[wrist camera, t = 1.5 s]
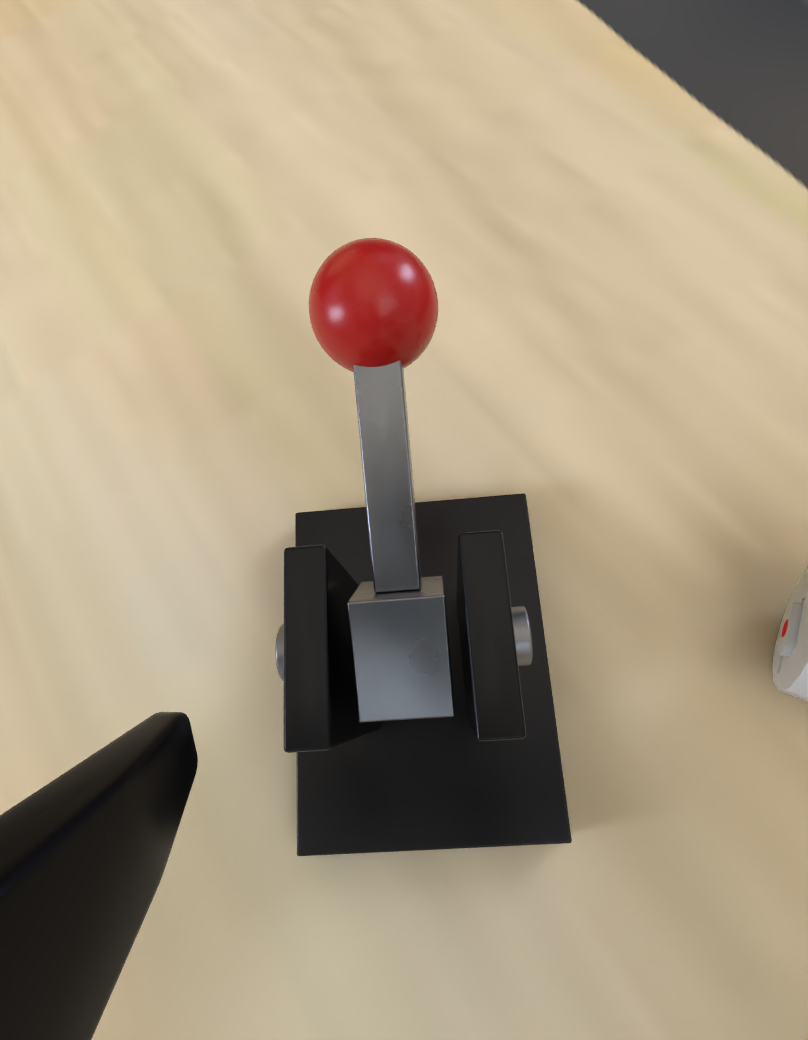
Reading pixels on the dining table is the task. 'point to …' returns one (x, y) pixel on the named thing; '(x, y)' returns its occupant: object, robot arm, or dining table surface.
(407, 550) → the switch lever
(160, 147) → the dining table surface
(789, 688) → the spotlight
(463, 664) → the switch bracket
